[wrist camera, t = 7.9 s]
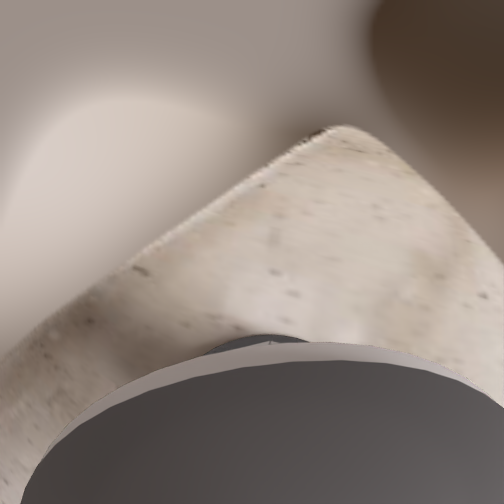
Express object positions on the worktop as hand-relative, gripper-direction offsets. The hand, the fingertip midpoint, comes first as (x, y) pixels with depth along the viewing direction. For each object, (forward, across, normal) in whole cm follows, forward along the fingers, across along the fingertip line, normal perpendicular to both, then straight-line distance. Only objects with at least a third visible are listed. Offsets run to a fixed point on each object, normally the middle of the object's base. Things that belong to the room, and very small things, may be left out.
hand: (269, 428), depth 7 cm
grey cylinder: (+4, 0, +6) cm, 7 cm away
